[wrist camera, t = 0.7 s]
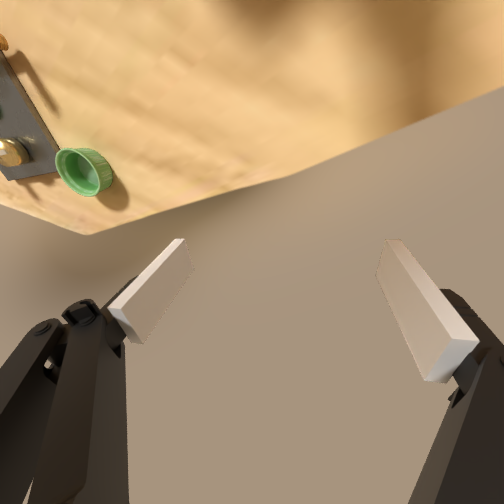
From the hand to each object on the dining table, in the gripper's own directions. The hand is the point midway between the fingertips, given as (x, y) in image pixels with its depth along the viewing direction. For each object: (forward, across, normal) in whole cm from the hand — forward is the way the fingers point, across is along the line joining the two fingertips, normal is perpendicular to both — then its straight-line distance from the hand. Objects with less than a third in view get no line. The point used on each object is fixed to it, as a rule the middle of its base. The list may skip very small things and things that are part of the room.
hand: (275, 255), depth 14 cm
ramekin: (+27, -40, +3) cm, 49 cm away
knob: (+26, -58, +7) cm, 64 cm away
